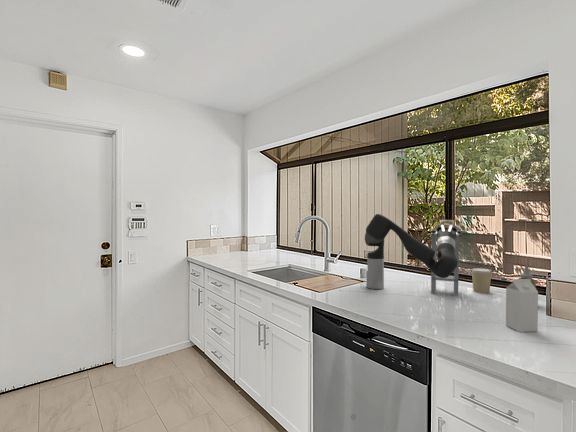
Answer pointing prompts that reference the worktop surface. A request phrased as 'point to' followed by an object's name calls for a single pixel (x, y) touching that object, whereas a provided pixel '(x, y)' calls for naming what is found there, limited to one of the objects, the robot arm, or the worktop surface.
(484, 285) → the coffee cup
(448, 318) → the worktop surface
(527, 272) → the squeeze bottle
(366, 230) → the robot arm
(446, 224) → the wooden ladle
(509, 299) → the milk carton
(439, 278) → the grey stand
